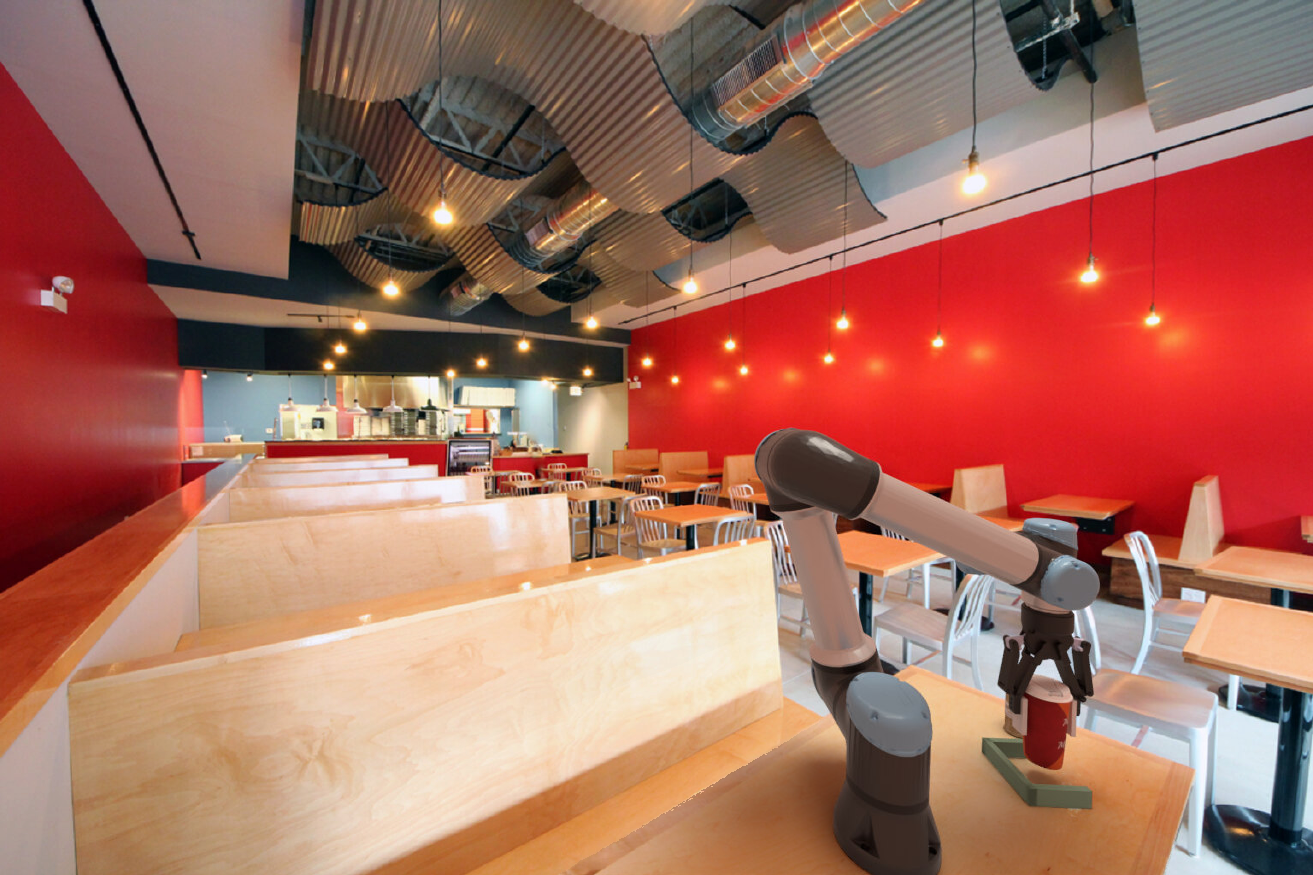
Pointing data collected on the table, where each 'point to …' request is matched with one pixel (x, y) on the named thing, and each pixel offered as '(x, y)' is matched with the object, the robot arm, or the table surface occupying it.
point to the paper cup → (1046, 721)
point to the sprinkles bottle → (1010, 720)
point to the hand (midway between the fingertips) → (1043, 730)
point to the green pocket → (1031, 793)
